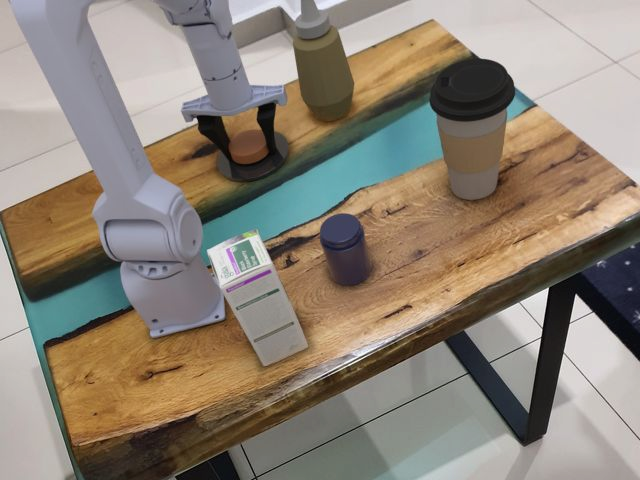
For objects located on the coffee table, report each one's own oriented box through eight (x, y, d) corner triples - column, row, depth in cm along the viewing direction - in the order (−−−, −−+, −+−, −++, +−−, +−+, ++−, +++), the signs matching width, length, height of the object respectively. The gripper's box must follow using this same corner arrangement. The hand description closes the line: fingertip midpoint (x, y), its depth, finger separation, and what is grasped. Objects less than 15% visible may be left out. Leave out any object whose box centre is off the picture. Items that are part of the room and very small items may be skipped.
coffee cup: (425, 177, 86) (413, 75, 74) (489, 150, 86) (488, 44, 74) (458, 220, 80) (451, 117, 68) (527, 191, 81) (532, 83, 69)
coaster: (220, 190, 93) (218, 187, 92) (216, 144, 99) (215, 141, 99) (294, 170, 92) (293, 167, 92) (285, 125, 99) (284, 122, 98)
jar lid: (272, 135, 96) (270, 126, 95) (268, 161, 93) (265, 152, 91) (234, 140, 97) (231, 132, 96) (228, 166, 94) (225, 158, 92)
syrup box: (310, 348, 73) (275, 261, 62) (262, 369, 73) (218, 286, 61) (294, 313, 77) (258, 225, 65) (248, 334, 76) (203, 248, 65)
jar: (334, 291, 78) (321, 249, 72) (326, 260, 81) (313, 218, 75) (376, 279, 77) (366, 236, 71) (367, 249, 80) (357, 206, 75)
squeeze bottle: (298, 109, 101) (265, -9, 86) (344, 87, 101) (320, -32, 87) (319, 134, 96) (288, 15, 81) (367, 112, 97) (345, -11, 82)
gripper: (276, 41, 85) (301, 127, 96) (173, 60, 88) (208, 143, 99) (273, 71, 81) (299, 158, 92) (164, 91, 84) (202, 173, 95)
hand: (252, 152), depth 95 cm, fingers closed on jar lid, 6 cm apart
